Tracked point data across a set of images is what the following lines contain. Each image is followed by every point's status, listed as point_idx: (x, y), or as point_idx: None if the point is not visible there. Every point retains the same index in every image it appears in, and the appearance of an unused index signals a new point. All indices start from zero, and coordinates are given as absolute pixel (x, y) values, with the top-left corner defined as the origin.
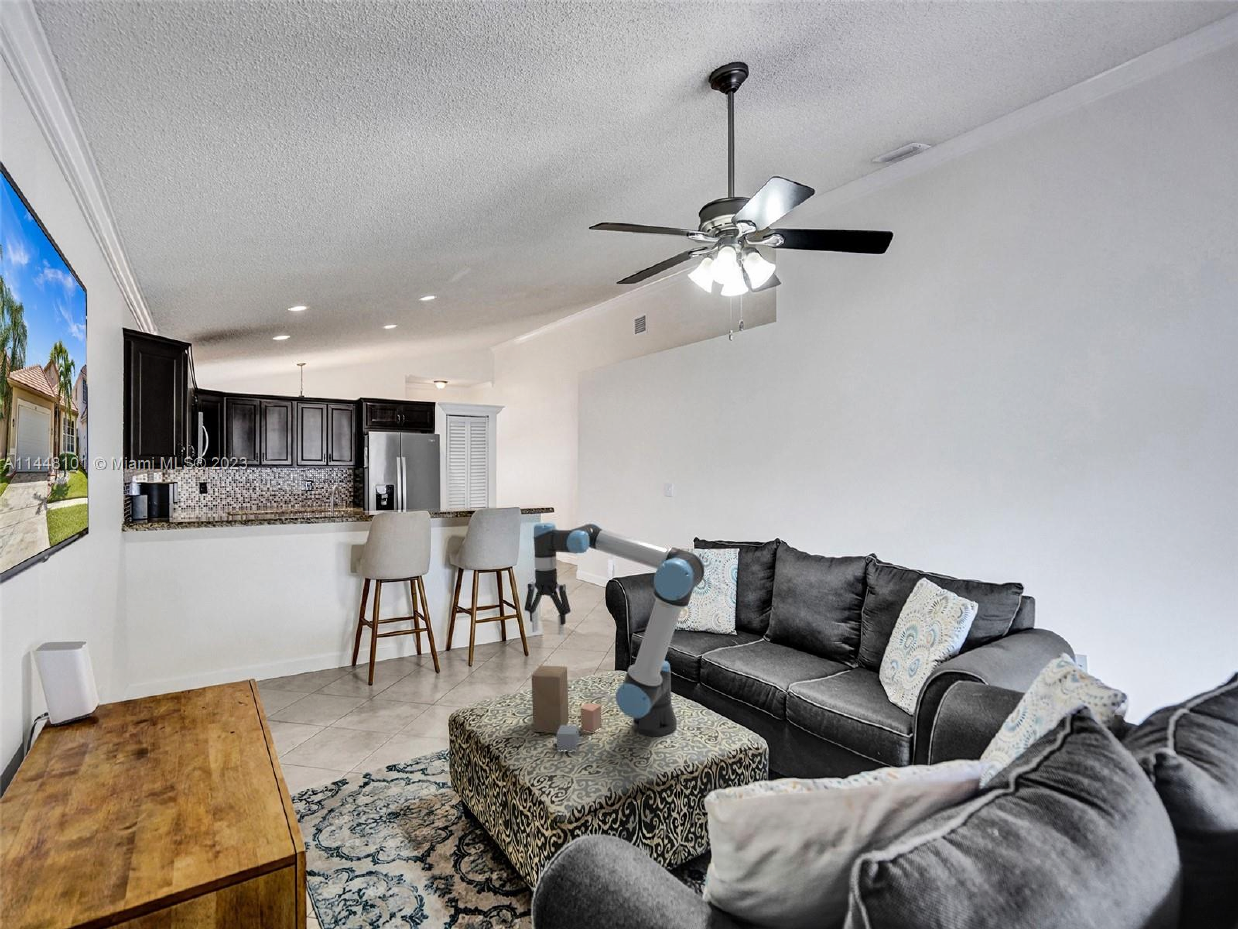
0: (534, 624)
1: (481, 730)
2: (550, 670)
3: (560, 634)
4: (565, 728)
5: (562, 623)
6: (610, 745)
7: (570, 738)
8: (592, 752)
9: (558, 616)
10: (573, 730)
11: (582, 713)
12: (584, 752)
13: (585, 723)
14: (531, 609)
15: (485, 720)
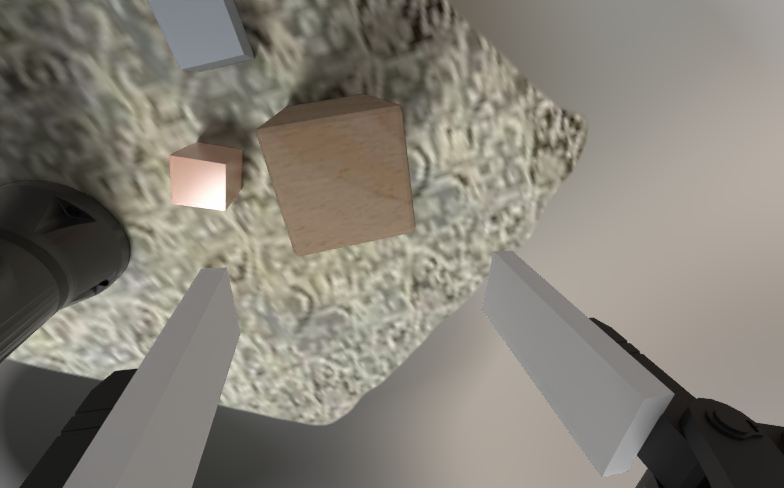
0: (532, 300)
1: (508, 64)
2: (342, 192)
3: (200, 275)
4: (209, 31)
5: (119, 386)
6: (97, 88)
7: None
8: (118, 22)
9: (99, 484)
10: (171, 24)
11: (222, 159)
12: (143, 14)
13: (219, 151)
14: (760, 470)
15: (518, 124)
